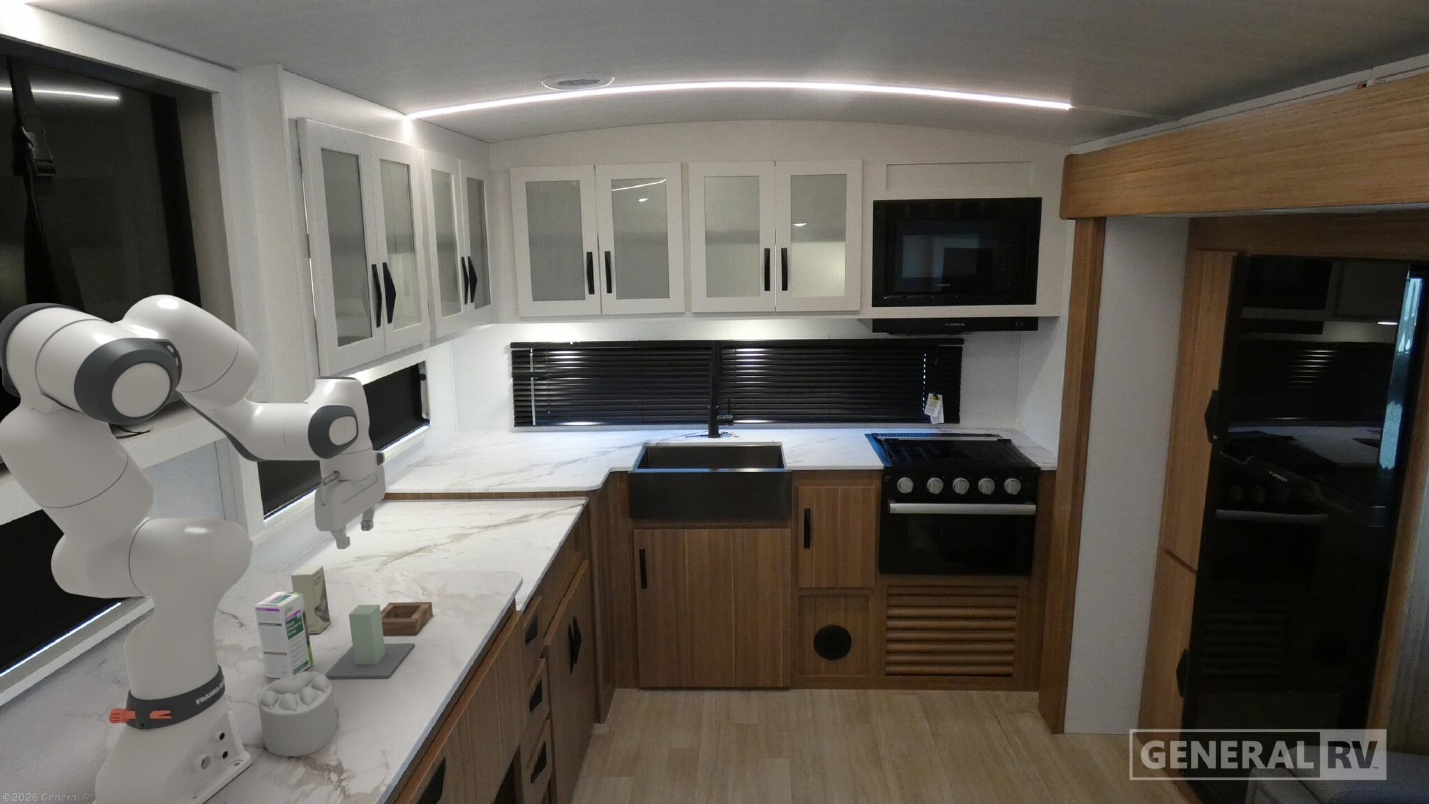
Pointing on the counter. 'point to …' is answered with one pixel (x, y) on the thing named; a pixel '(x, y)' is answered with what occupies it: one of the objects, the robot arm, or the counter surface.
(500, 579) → the counter surface
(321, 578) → the box
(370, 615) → the peg
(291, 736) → the lumpy-topped squat cylinder
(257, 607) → the syrup box
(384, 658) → the mat
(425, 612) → the block
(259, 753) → the counter surface
